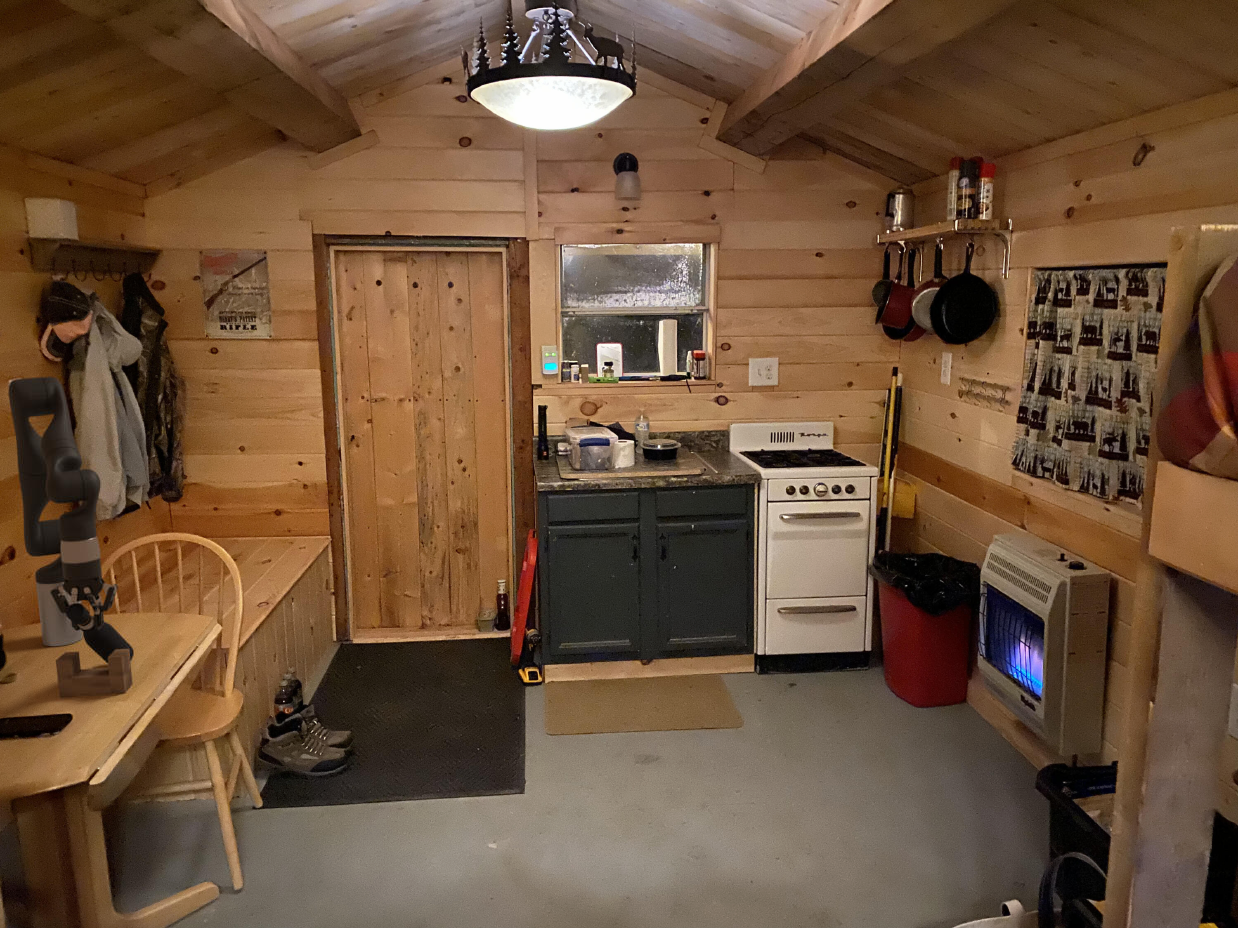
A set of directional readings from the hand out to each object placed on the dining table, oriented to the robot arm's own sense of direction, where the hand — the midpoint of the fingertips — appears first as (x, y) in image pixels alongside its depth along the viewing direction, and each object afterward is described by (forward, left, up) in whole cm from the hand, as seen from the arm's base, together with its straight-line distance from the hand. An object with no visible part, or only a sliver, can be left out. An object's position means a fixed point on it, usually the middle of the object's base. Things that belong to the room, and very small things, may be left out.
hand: (88, 628), depth 208 cm
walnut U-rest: (-1, +1, -16) cm, 16 cm away
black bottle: (-12, +12, -14) cm, 22 cm away
